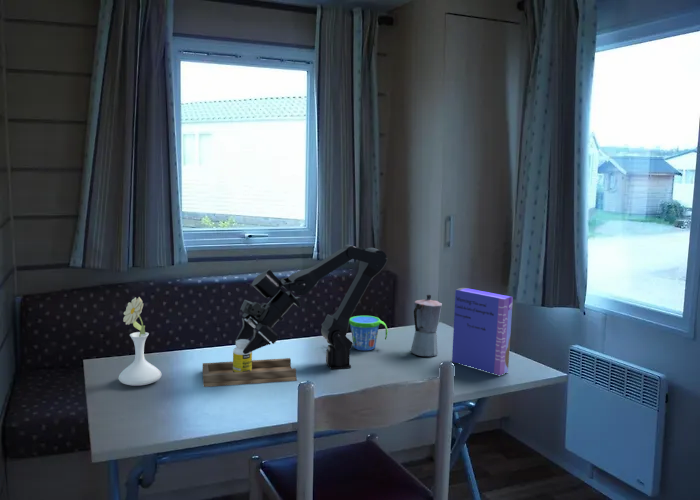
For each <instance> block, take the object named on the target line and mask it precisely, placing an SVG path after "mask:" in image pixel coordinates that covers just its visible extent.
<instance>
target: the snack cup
mask: <svg viewBox="0 0 700 500" xmlns="http://www.w3.org/2000/svg"><path fill="white" fill-rule="evenodd" d="M380 325H382V326H384V328H385V338H384V340H387V338H388V332H389V331H388V330H389V329H388V327H387V324H386V323H385V322H384V321H382V320H381V319H380V318H379V317H378V316H373V315H356V316H355V315H354V316H351V317H350V319H349V328H350V331H351V338H352V340H351V341H352V343H353V344H352V347H353V348H354V349H356V350H358V351H371V350H374V349H375V348H376V345H377V339H378V334H379V326H380Z"/></svg>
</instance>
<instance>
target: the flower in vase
mask: <svg viewBox="0 0 700 500" xmlns="http://www.w3.org/2000/svg"><path fill="white" fill-rule="evenodd" d="M143 307H144V303H143V300H142V298H141V297H140V296H138V298H137V297H134V298H133V299H131V302H128V303H127V306H126V307H125V308H126V309H125V311H124V312H123V315H124V316H123V320H122V321H123V322H124V323H125V325H126V326H127V325H128V326H129V325H130V324H132V326H133V327H134V328H135V329H136V330H139V331H136V332H132V333H130V334H129V337H130V338H131V340H132V342H133V344H134V350H135V354H134V355H135V358H134V360H133V362H132V363H130V364H129V365H128V366H126V368H124V369H123V370H122V371H121V373H119V376H118V380H119V382H120V383H121V384H123V385H128V386H133V387H134V386H135V387H136V386H137V387H138V386H145V385H150V384H153V383H155V382H158V381H159V380H160V378H162V372H161V370H160V369H158V368H157V367H156V365H153V364H151V363H150V362H149V361H147V360H146V357H145V353H144V352H145V343H146V340H147V338H148V336H149V334H150V333H149V332H146V330H145V328H146V325H144V322H143V320H142V317H141V313H142V310H143ZM138 318H139V320H140V323H141V324H140V323H138V321H137V320H138Z"/></svg>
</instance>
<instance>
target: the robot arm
mask: <svg viewBox="0 0 700 500" xmlns="http://www.w3.org/2000/svg"><path fill="white" fill-rule="evenodd" d="M351 260H356V261H359V265H358V271H357V273H356V276H355V278H354V279H353V280H352V283H351V284H350V286H349V288H348V290H347V292H346V294H345V296H344V297H343V299H342V301H341V302H340V304H339V306H338V308H337V310H336V311H335V312H334V313H333V314H331V315H330V314H329V313H327V314H326V317H325V319H324V321H323V322H322V323H321V325H320V326H321V330H320V332H321V336H322V337H323V338H324V339H325V340H326V342H327V344H328V345H327V350H325V353H326V354H325V363H326V365H327V366H328V368H329V369H330V370H337V369H351V368H352V366H351V364H350V360H351V359H350V355H351V354H350V353H351V349H352V347H353V341H352V340H350V338H348V337H347V334H348V330H349V327H350V324H349V319H350V318H351V317H352V315H353V313H354V312H355V310H356V309H357V306H358V304H359V303H360V301H361V299H362V297H363V296H364V294H365V292H366V290H367V288H368V287H369V285H370V283H371V281H372V280H373V278H374V277H376V276H378V274H380V273H381V271H382V270H383V269H384V268H385V266H386V264H387V262H388V256H387V254H386V252H384V250H380V249H377V248H374V247H368V248H362V247H359V246H358V247H357V246H354V245H351V244H345V245H343V247H342V248H340V249H338V250H337V251H335V252H333V253H332V254H330V255H329V256H328V257H326V258H324V259H323V260H321V261H319V262H318V263H316V264H315V265H313V266H311V267H309V268H305V269H301V270H298V271H297V272H294V273H292V274H291V275H288V277H284V278H278V277H277V275H275V274H274V272H273V271H272V270H271V269H270V268H267V269H266V270H265V271H263V272H261V273H260V274H258V275H257V276H256V277H255V278H254V279H253V281H252V282H251V286H252V287H253V288H254V289H255V290H257V292H259V293H260V294H261V295H262V296H263V297H264V298H265V299H268V298H270V300H269V302H267V303H266V302H264V303H262V304H261V303H259V302H257V301H254V302H252V301H249V300H247V299H244V300H243V303H242V304H241V306H240V309H239V310H240V311H242V313H243V314H242V315H241V316H242V318H241V321H242V327H241V329H240V331H239V333H238V335H237V337H236V339H235V341H234V345H236V341H237V340H240V339H246V340H249V339H250V338H251V339H250V340H249V341H250V342H249V343H248V344H247V346H246V347H245V349H244V350H243V353H244V354H247V353H249V352H252V353H253V352H254V351H256V350H258V349H261V348H263V347H266V346H270V345H272V344H273V345H274V344H276V342H277V341H278V340H279V334H278V333H277V332H276V331H274V326H275V325H276V324H277V322H279V321H280V322H282V321H283V319H284V318H283V316H284V315H285V314H286V313H287V312H288V311H289V310H290V309H291V307H292V306H293V305H295V306H296V307H297V308H300V307H301V297H300V296H304V295H306V294H308V293H309V292H311V290H313V288H315V286H317V284H318V283H319V281H321V280H322V279H323V278H325V277H327V275H329V274H331V273H333V272H334V271H336V270H338V269H339V268H340V267H342V266H344V265H345V264H347V263H349V262H350V261H351ZM282 287H283V288H284V289H285V290H286V291H285V290H284V289H283V288H282ZM293 293H294V294H296V295H298V296H295V295H294V294H293Z"/></svg>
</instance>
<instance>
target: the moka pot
mask: <svg viewBox="0 0 700 500" xmlns="http://www.w3.org/2000/svg"><path fill="white" fill-rule="evenodd" d="M413 304H414V305H413V306H414V309H413V317H414V318H413V319H414V328H415V329H414V330H415V331H414V335H413V339H412V344H411V349H410V353H412V354H414V355H415V356H419V357H436V356H438V354H439V351H438V334H437V331H438V327H439V323H440V316H441V312H442V311H441V310H442V306H443V303H441V302H439V300H433V299H432V294H426V299H418V300H414V303H413Z"/></svg>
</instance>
